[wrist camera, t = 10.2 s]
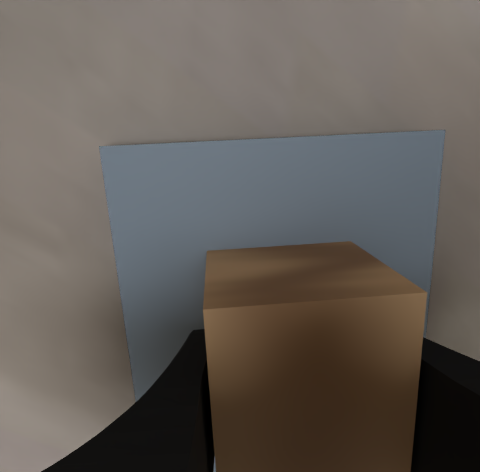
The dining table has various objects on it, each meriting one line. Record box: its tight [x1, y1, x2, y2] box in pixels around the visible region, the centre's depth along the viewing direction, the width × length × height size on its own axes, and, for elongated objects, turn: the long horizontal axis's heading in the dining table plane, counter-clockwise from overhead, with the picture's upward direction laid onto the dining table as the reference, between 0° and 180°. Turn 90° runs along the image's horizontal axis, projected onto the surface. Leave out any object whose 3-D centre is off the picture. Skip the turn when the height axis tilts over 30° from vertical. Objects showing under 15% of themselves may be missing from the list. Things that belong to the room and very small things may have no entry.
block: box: [203, 241, 427, 472], centre depth 9 cm, size 4×6×4 cm
